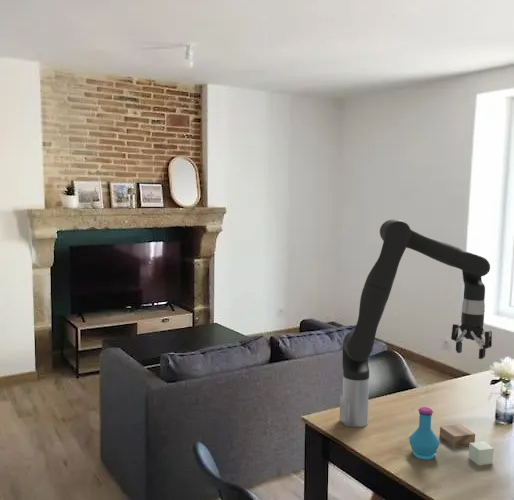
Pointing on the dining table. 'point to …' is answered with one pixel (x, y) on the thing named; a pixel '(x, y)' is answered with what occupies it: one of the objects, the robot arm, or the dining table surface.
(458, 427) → the brown wooden block
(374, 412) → the dining table surface
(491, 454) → the sage cube
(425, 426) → the perfume bottle
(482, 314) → the robot arm
